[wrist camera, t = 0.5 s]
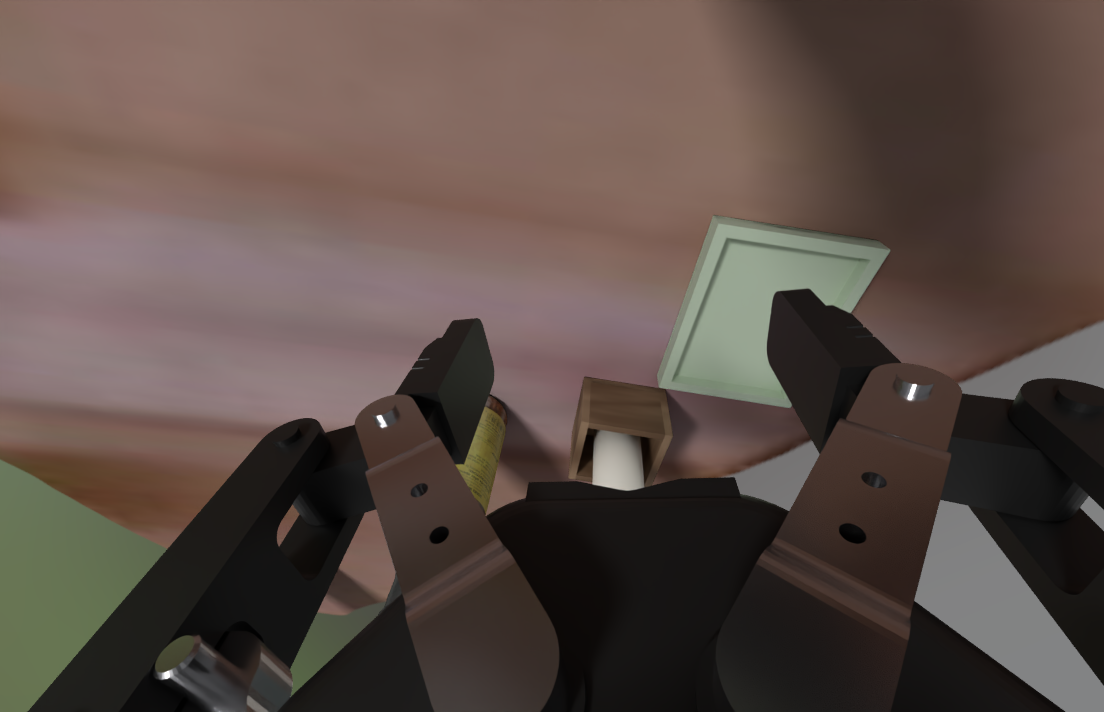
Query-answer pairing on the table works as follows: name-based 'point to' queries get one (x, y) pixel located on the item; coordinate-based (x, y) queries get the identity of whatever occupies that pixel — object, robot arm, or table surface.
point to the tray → (756, 302)
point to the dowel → (617, 461)
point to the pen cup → (620, 423)
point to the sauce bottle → (478, 463)
